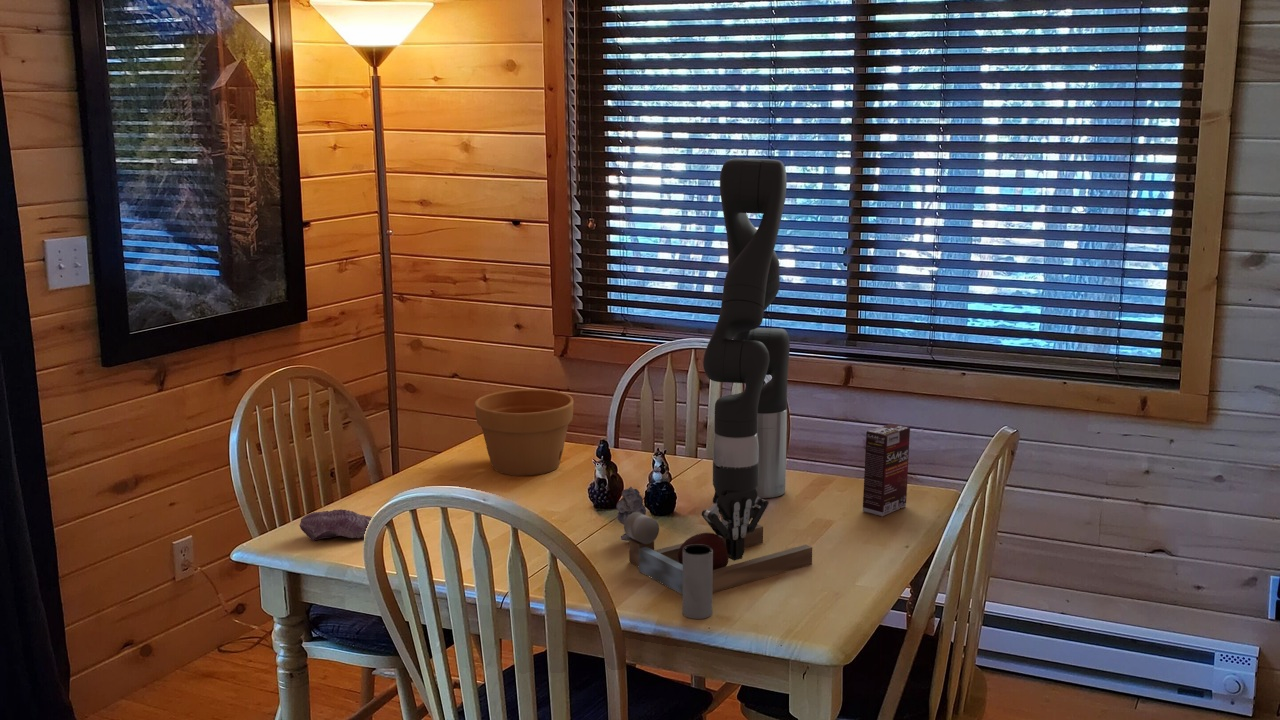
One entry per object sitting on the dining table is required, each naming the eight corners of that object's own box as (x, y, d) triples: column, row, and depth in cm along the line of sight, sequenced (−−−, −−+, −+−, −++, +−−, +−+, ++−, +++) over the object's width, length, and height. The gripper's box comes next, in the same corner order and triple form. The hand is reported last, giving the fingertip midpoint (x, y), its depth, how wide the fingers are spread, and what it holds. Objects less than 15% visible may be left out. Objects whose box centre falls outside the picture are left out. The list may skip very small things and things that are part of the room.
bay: (622, 562, 202) (621, 515, 200) (739, 532, 216) (740, 488, 214) (690, 599, 186) (690, 548, 185) (811, 564, 200) (813, 516, 199)
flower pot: (557, 484, 245) (556, 414, 242) (461, 477, 250) (459, 409, 247) (586, 456, 265) (585, 391, 262) (496, 450, 270) (495, 386, 267)
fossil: (298, 535, 216) (296, 507, 215) (377, 526, 221) (375, 499, 220) (302, 549, 209) (300, 521, 208) (383, 539, 214) (382, 512, 213)
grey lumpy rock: (633, 547, 209) (632, 493, 207) (611, 540, 212) (610, 486, 210) (653, 540, 212) (653, 486, 210) (632, 533, 216) (631, 480, 214)
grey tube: (708, 606, 183) (709, 542, 181) (715, 618, 179) (715, 553, 177) (679, 608, 183) (680, 544, 181) (685, 620, 178) (685, 555, 176)
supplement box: (883, 517, 224) (886, 435, 220) (861, 511, 227) (864, 431, 224) (908, 506, 230) (911, 426, 227) (886, 501, 233) (889, 422, 230)
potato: (672, 568, 199) (672, 528, 198) (721, 564, 201) (721, 524, 199) (684, 584, 192) (684, 543, 191) (734, 579, 194) (734, 539, 192)
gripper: (751, 447, 203) (750, 544, 206) (689, 460, 196) (689, 560, 199) (781, 457, 197) (779, 556, 200) (718, 471, 190) (717, 574, 193)
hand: (734, 558), depth 200 cm, fingers closed
